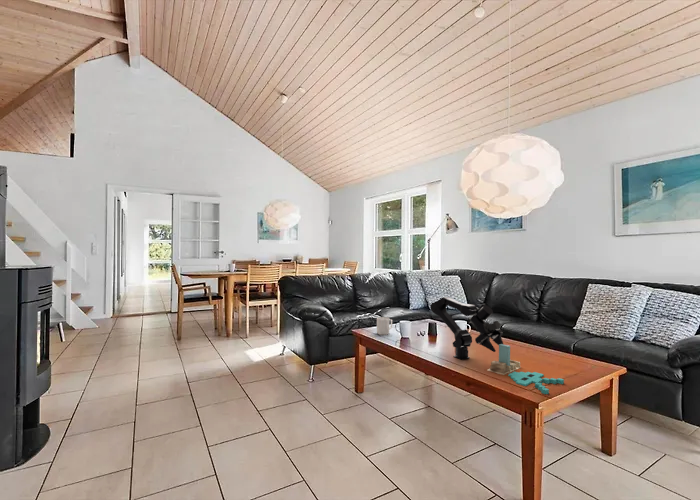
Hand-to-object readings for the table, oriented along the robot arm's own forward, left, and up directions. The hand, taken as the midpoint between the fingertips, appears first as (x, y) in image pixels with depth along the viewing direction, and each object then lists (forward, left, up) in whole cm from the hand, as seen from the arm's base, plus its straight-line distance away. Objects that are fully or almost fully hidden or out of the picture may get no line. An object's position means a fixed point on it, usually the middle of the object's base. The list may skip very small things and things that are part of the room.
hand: (499, 349), depth 190 cm
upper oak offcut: (+3, -5, -7) cm, 9 cm away
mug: (-91, -9, -10) cm, 91 cm away
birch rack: (+2, 0, -10) cm, 10 cm away
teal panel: (+2, 0, -9) cm, 9 cm away
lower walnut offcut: (+3, -5, -9) cm, 11 cm away
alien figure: (+19, -2, -11) cm, 22 cm away
